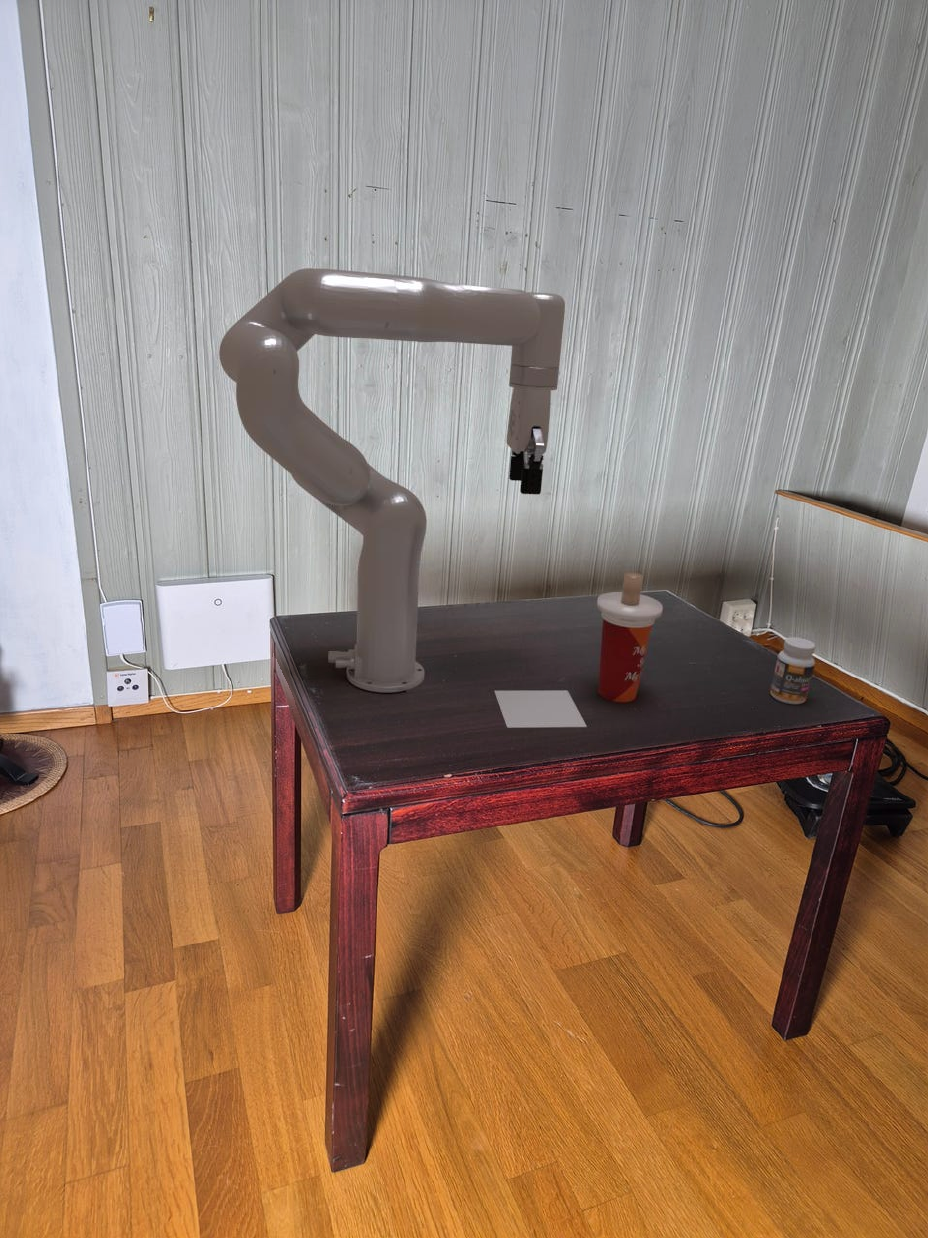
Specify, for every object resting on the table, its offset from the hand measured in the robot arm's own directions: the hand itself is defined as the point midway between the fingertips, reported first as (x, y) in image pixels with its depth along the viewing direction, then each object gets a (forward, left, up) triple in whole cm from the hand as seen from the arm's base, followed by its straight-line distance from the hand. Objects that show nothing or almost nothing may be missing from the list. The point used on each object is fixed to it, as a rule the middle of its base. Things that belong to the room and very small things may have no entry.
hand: (524, 486), depth 136 cm
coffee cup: (+15, -15, -31) cm, 37 cm away
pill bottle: (+44, -16, -31) cm, 56 cm away
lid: (+15, -15, -15) cm, 26 cm away
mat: (+1, -20, -30) cm, 36 cm away
